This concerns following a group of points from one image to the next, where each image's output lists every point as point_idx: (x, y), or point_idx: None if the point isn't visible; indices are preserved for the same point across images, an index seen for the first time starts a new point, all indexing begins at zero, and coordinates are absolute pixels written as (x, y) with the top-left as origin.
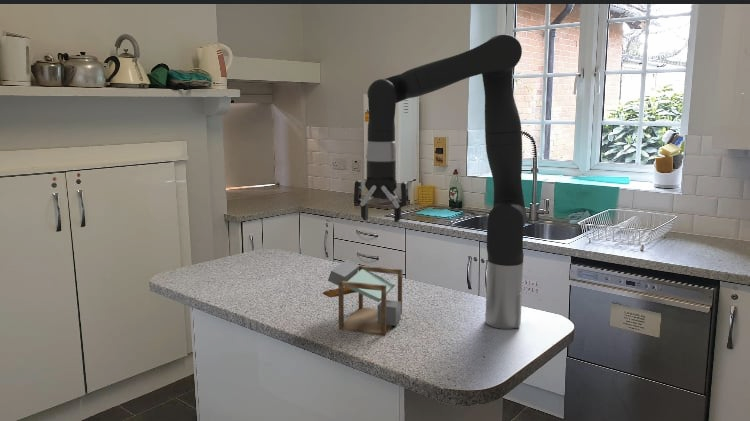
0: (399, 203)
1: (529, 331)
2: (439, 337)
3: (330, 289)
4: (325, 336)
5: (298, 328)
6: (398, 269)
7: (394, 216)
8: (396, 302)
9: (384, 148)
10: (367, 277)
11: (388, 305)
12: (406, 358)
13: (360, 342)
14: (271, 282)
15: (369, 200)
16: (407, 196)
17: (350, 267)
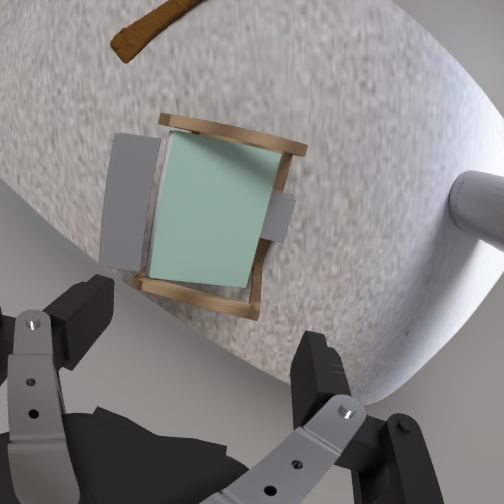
0: (336, 460)
1: None
2: (360, 271)
3: (122, 28)
4: None
5: None
6: (294, 147)
7: (292, 392)
8: (284, 207)
9: None
10: (196, 184)
11: (265, 230)
12: (296, 350)
13: None
14: (28, 27)
15: (53, 353)
16: (421, 476)
17: (136, 188)
